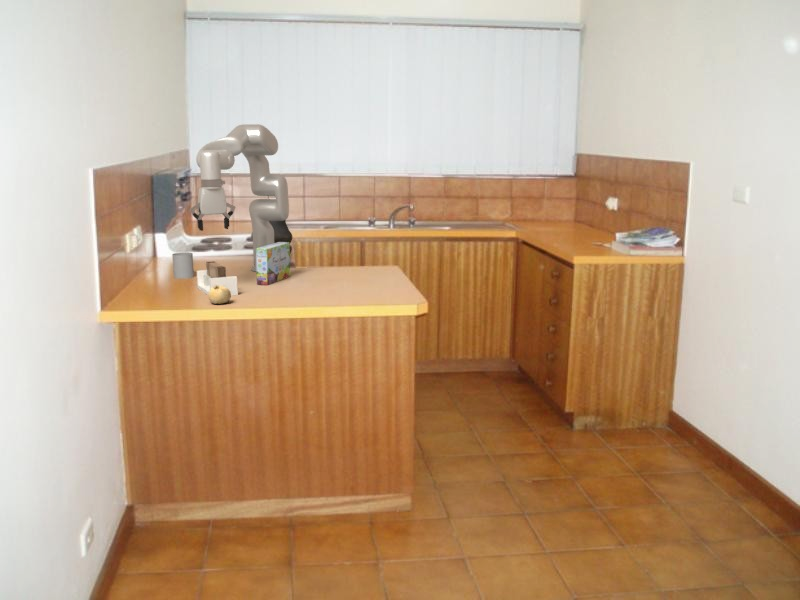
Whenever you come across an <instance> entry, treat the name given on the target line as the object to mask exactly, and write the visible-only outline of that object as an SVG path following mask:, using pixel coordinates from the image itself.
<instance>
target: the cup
mask: <svg viewBox="0 0 800 600" xmlns="http://www.w3.org/2000/svg"><path fill="white" fill-rule="evenodd" d="M171 255H172V256H171V257H172V270H173V279H176V280H186V279H192V278H194V277H195V275H194V274H195V273H194V271H195V270H194V255H193V252H176V253H172V254H171Z"/></svg>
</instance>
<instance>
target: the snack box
mask: <svg viewBox="0 0 800 600" xmlns="http://www.w3.org/2000/svg"><path fill="white" fill-rule="evenodd" d="M290 244H291V243H289V242H277V243H273V244H270V245H266V246H263V247H259V248H256V264H257V272H256V285H260V286H268V285H271V284H275V283H277V282H279V280H280V281H282V280H284V278H285V279H287V278H286V277H288V276H290V277H291V267H290V266H291V263H290V262H291V260H290V259H291V258H290V257H291V255H290V254H291V253H290ZM288 278H289V277H288Z"/></svg>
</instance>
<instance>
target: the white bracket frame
mask: <svg viewBox="0 0 800 600" xmlns="http://www.w3.org/2000/svg"><path fill="white" fill-rule="evenodd" d="M196 281H197V282H196V283H197V289H199V290H200V291H201V292H203V293H204V294H205V295H207V296H208V294H209V291H210V290H211V289H212V288H213V286H215V285H219V286H225V287H226V288H228V289H229V291H230V292H231V296H238V295H239V293H238V289H239V288H238V276H236V275H233V276H226V277H220V278H213V277H211V276H209V275H207V269H201V270H196Z"/></svg>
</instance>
